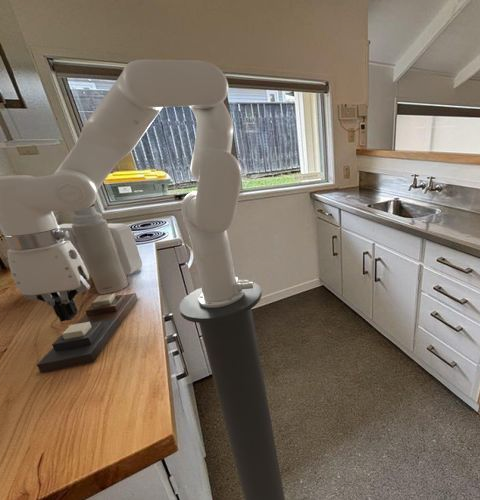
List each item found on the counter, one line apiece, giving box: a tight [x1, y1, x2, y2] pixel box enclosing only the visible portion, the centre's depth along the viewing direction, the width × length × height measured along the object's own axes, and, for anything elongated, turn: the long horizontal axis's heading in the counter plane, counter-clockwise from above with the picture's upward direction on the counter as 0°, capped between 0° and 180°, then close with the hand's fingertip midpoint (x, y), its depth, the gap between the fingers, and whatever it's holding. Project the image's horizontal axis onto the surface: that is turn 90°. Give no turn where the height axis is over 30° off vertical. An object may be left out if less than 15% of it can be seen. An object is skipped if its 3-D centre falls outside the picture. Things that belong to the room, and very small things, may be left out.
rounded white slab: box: [58, 223, 143, 276], centre depth 101 cm, size 29×8×18 cm, turn 85°
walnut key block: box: [75, 292, 138, 326], centre depth 77 cm, size 9×14×4 cm, turn 19°
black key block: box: [36, 318, 120, 374], centre depth 65 cm, size 9×14×4 cm, turn 19°
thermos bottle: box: [71, 203, 129, 295], centre depth 88 cm, size 8×8×28 cm
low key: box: [92, 293, 116, 307], centre depth 77 cm, size 4×4×2 cm
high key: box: [61, 322, 92, 340], centre depth 64 cm, size 4×4×2 cm
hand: (69, 317), depth 63 cm, fingers closed
